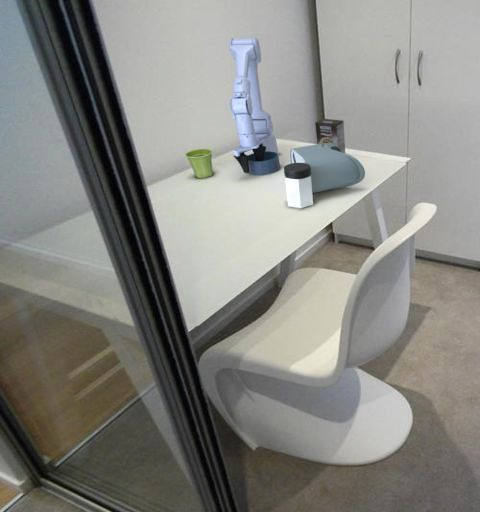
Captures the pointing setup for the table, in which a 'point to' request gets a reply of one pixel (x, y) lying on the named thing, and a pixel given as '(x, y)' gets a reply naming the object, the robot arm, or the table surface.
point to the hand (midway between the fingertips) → (253, 169)
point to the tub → (264, 164)
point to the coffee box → (331, 132)
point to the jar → (298, 185)
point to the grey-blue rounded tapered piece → (328, 166)
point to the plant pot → (200, 162)
